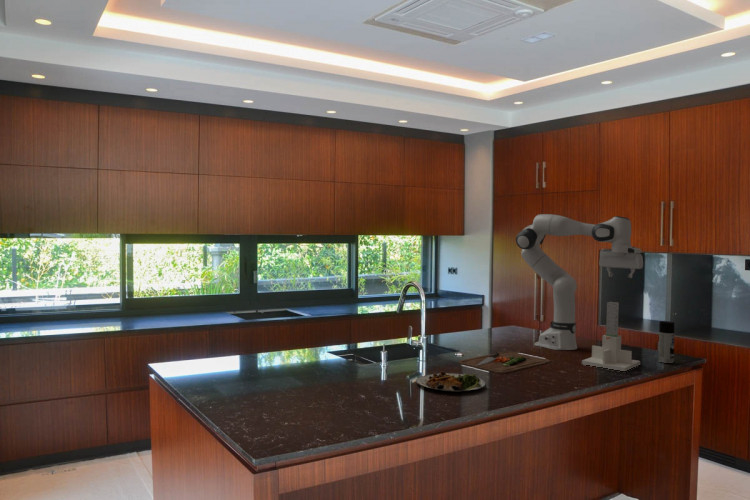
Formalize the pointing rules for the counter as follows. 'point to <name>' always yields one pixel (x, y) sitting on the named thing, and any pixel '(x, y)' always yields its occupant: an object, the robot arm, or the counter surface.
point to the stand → (611, 355)
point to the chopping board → (503, 362)
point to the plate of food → (451, 381)
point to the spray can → (666, 342)
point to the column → (612, 319)
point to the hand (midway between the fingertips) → (620, 277)
